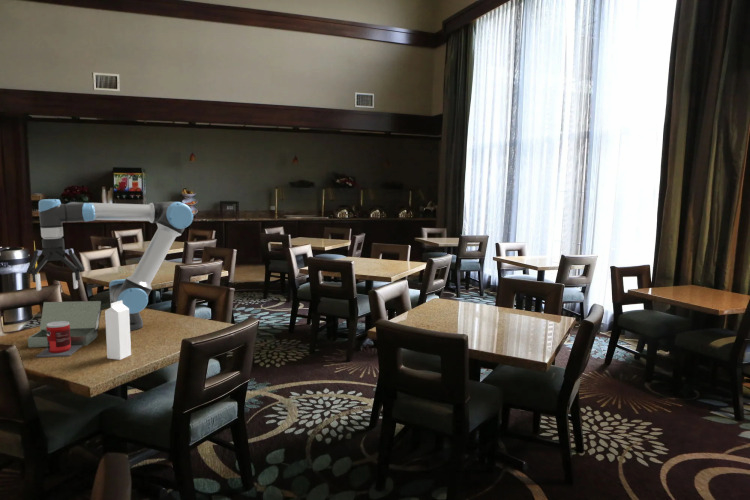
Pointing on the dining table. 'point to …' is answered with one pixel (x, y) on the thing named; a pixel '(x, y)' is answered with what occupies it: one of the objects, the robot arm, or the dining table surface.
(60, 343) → the canned food
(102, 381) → the dining table surface
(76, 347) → the pad
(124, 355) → the milk
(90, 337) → the case
